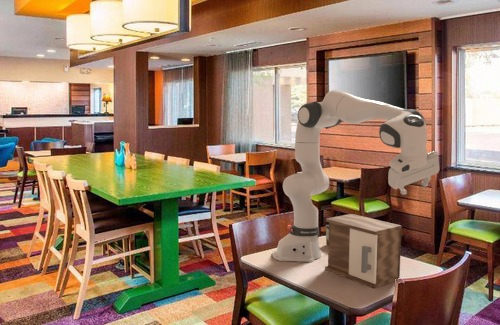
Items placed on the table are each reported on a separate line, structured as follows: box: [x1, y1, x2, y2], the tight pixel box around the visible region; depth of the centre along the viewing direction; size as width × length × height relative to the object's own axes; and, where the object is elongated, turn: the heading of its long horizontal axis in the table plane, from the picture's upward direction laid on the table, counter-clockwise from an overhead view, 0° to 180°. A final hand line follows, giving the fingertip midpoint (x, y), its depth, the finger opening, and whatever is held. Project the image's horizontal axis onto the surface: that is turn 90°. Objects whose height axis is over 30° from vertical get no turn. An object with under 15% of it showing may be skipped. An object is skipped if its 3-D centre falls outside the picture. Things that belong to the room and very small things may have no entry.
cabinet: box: [324, 213, 402, 289], centre depth 196 cm, size 16×26×22 cm, turn 36°
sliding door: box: [349, 228, 378, 284], centre depth 185 cm, size 5×13×19 cm, turn 36°
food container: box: [325, 224, 329, 247], centre depth 235 cm, size 12×6×10 cm, turn 17°
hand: (414, 189), depth 181 cm, fingers open, 8 cm apart
